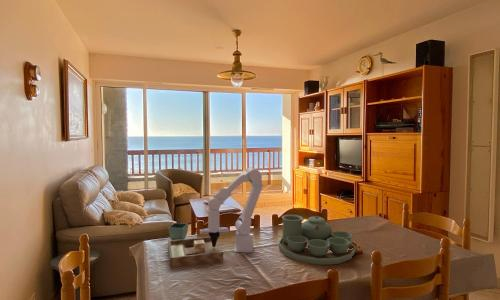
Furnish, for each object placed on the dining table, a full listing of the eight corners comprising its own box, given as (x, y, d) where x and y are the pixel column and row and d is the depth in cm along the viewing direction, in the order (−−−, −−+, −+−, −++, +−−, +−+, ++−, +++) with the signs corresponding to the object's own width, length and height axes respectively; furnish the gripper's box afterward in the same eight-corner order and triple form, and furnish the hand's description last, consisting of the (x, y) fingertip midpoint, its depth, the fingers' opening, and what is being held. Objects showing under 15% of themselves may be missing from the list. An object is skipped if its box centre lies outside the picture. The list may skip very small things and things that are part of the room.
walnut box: (214, 244, 174) (214, 236, 174) (223, 261, 151) (223, 252, 151) (168, 248, 167) (168, 240, 167) (170, 267, 144) (170, 258, 144)
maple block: (203, 247, 163) (203, 239, 162) (204, 250, 158) (204, 243, 158) (193, 248, 161) (193, 240, 161) (194, 251, 156) (194, 244, 156)
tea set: (294, 269, 143) (294, 234, 142) (270, 239, 182) (271, 212, 181) (371, 262, 152) (372, 229, 151) (333, 235, 191) (333, 208, 190)
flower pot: (182, 243, 174) (182, 228, 174) (168, 242, 176) (167, 227, 175) (188, 238, 183) (188, 223, 182) (174, 237, 185) (174, 222, 184)
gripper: (200, 223, 155) (200, 250, 156) (229, 221, 159) (229, 247, 160) (199, 220, 162) (199, 245, 162) (226, 217, 166) (226, 242, 167)
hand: (213, 246), depth 162 cm, fingers closed
